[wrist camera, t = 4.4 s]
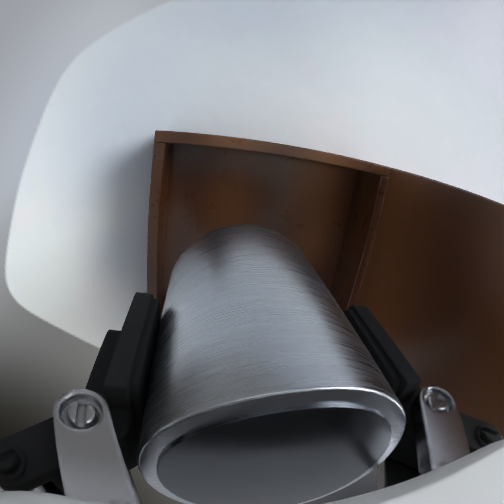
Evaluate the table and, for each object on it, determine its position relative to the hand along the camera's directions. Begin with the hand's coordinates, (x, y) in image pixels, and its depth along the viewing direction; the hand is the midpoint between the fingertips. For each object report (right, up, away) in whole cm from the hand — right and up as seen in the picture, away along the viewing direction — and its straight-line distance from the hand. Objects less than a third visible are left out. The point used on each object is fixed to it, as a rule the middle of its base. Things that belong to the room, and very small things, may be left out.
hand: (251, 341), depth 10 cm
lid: (+8, -1, +2) cm, 8 cm away
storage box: (0, +4, +11) cm, 11 cm away
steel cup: (0, +1, +3) cm, 3 cm away
